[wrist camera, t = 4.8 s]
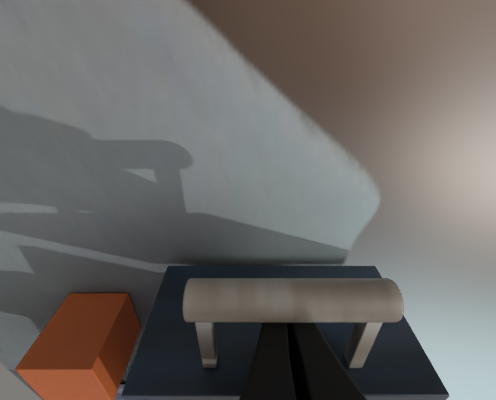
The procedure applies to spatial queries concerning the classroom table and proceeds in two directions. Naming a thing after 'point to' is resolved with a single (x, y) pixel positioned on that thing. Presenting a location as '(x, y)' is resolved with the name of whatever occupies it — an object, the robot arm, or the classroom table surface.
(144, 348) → the drawer
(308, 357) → the robot arm
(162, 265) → the classroom table surface
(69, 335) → the block
